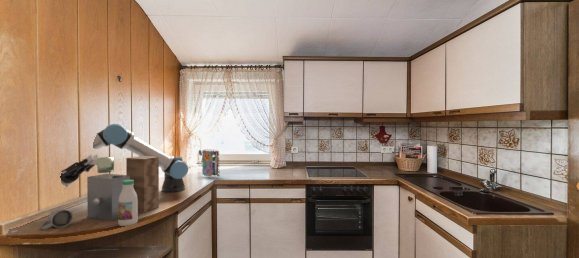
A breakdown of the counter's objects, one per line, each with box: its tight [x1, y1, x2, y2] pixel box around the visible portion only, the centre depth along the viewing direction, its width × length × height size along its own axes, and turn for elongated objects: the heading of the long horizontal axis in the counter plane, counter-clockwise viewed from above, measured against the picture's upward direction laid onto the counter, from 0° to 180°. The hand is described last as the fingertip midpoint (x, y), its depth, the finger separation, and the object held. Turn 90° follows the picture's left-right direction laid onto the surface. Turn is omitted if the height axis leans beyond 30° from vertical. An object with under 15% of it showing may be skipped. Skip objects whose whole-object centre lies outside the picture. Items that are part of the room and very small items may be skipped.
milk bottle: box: [117, 180, 139, 227], centre depth 128 cm, size 8×8×20 cm
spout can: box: [81, 156, 115, 174], centre depth 141 cm, size 7×18×7 cm, turn 72°
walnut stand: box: [125, 155, 160, 213], centre depth 151 cm, size 10×12×28 cm
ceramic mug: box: [39, 207, 74, 231], centre depth 124 cm, size 11×8×8 cm
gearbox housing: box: [86, 173, 130, 222], centre depth 137 cm, size 12×16×20 cm
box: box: [198, 148, 221, 179], centre depth 243 cm, size 25×6×24 cm, turn 55°
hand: (95, 156), depth 141 cm, fingers closed on spout can, 2 cm apart
